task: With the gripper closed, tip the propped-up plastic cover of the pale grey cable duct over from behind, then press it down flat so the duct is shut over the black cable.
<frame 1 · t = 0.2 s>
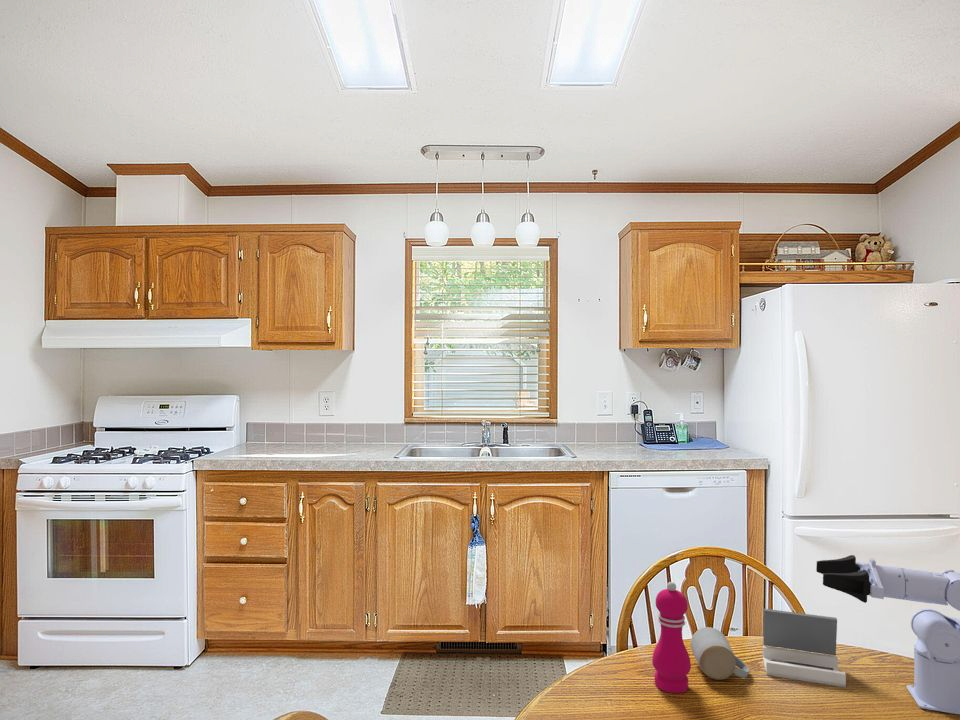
hand: (819, 572, 120), 22 cm above the table, tool horizontal, fingers open, 7 cm apart
pepper mill: (671, 686, 118), on the table
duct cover: (799, 631, 128), point 7 cm above the table, hinge at 80.0°
cable duct: (802, 671, 124), on the table
ceramic mug: (720, 673, 124), on the table
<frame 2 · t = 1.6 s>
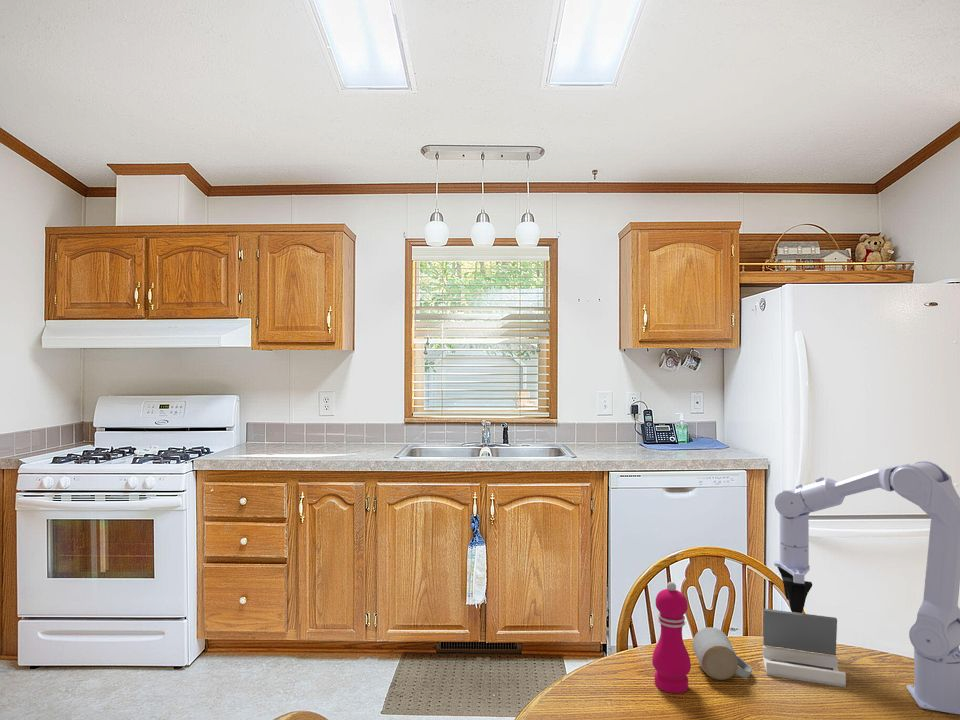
hand: (794, 605, 135), 9 cm above the table, tool pointing down, fingers open, 7 cm apart
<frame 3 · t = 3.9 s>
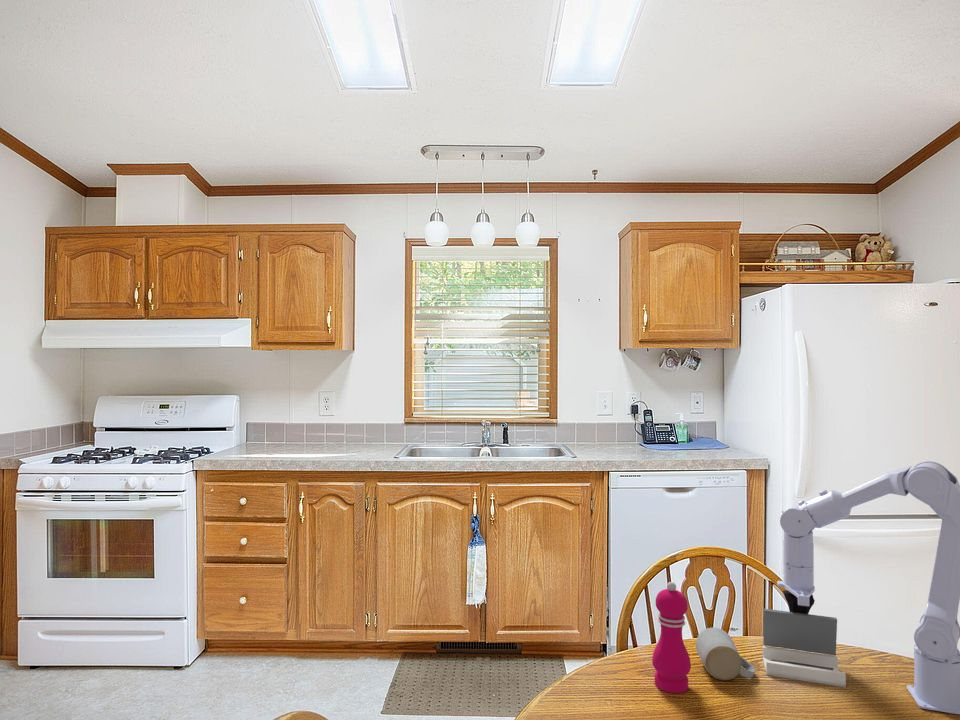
hand: (798, 628, 129), 7 cm above the table, tool pointing down, fingers closed, pressing on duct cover
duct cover: (799, 631, 128), point 7 cm above the table, hinge at 80.0°, touching gripper
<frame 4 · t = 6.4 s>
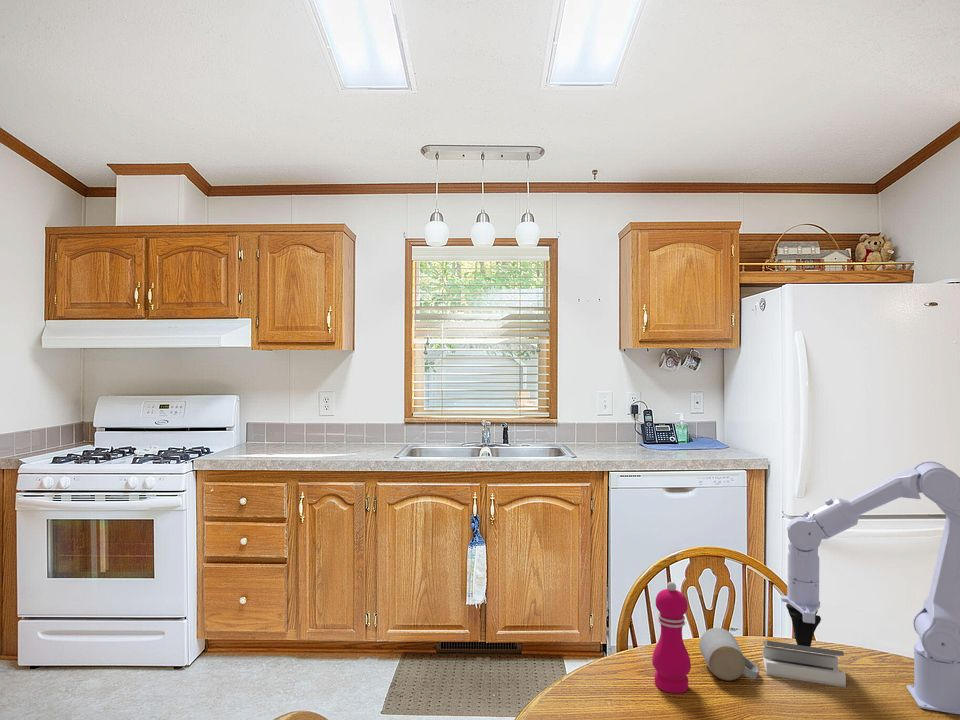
hand: (802, 645, 123), 6 cm above the table, tool pointing down, fingers closed
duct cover: (801, 648, 125), point 5 cm above the table, hinge at 23.1°, touching gripper
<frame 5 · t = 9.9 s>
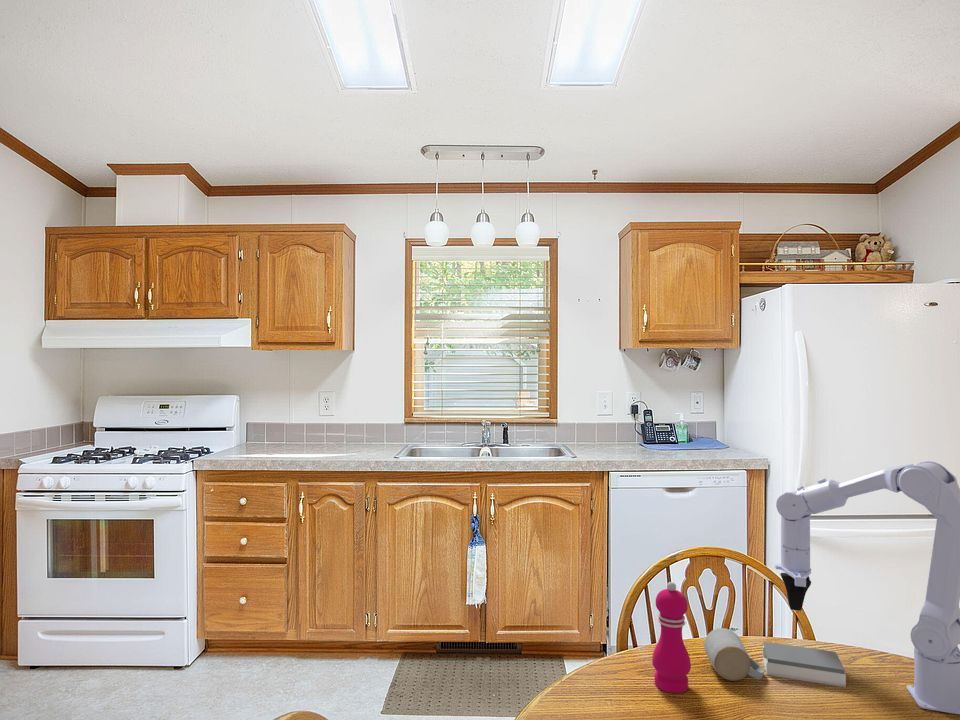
hand: (795, 609, 133), 9 cm above the table, tool pointing down, fingers closed
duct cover: (802, 656, 124), point 3 cm above the table, hinge at -0.4°
at the end: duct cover at +0° (first picture: +80°); ceramic mug moved 3.0 cm from its start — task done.
